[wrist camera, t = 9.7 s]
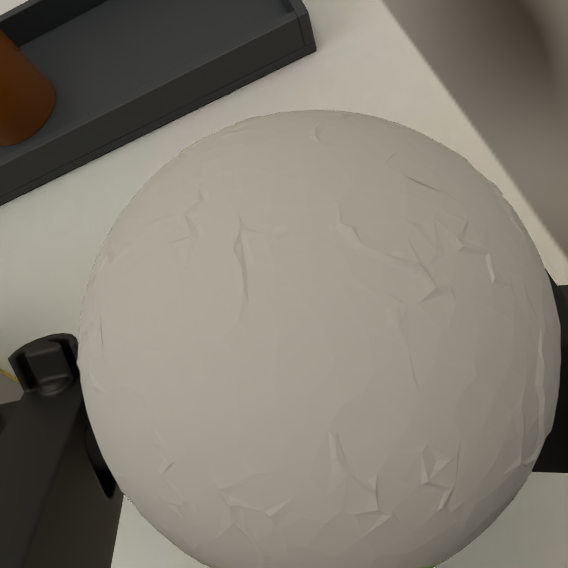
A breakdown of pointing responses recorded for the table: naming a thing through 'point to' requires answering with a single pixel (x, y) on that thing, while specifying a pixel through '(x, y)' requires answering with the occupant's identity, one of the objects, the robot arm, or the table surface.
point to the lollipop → (319, 347)
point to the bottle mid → (21, 94)
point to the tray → (137, 69)
